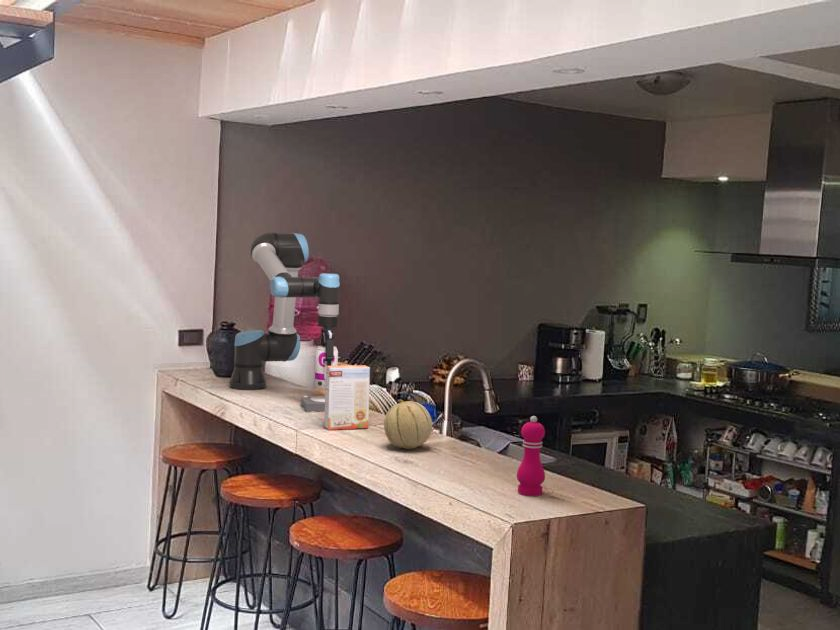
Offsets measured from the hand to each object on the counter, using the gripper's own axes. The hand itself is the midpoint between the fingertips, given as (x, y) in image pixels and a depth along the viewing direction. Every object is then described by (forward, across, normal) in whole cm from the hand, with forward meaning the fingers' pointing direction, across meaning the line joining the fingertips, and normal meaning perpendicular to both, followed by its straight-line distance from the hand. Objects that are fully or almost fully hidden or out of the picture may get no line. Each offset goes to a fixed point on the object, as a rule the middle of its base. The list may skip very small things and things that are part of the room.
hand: (326, 376), depth 357 cm
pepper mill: (+12, +123, +33) cm, 128 cm away
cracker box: (+12, +37, +1) cm, 39 cm away
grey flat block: (+12, 0, 0) cm, 12 cm away
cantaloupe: (+12, +69, +14) cm, 71 cm away
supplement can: (+4, 0, 0) cm, 4 cm away
